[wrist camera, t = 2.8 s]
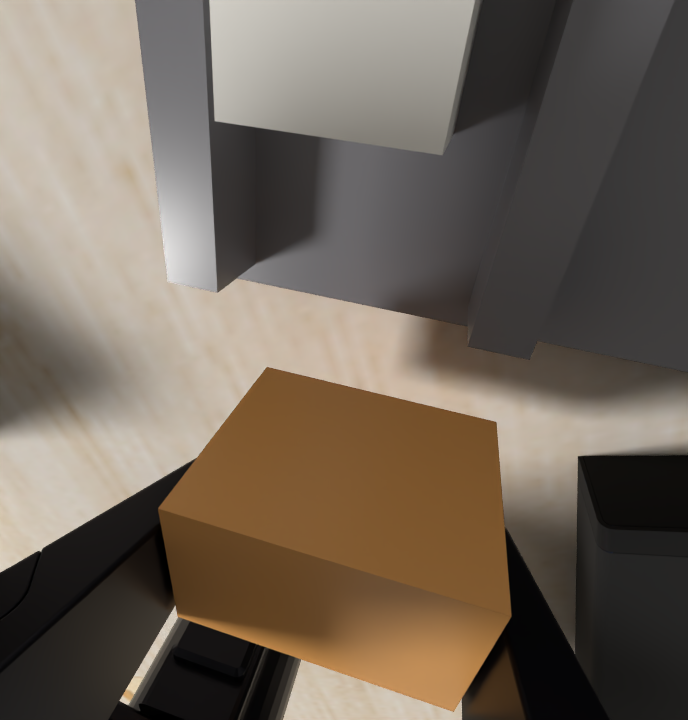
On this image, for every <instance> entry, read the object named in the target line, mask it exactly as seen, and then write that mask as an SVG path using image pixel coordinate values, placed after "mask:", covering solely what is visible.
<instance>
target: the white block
mask: <svg viewBox="0 0 688 720" xmlns="http://www.w3.org/2000/svg"><path fill="white" fill-rule="evenodd" d="M482 2H483V0H209V4H210V27H211V50H212V72H213V95H214V118H215V121H217V122H224V123H231V124H237V125H244V126H251V127H257V128H264V129H271V130H277V131H284V132H291V133H297V134H304V135H311V136H317V137H324V138H331V139H337V140H344V141H351V142H357V143H364V144H371V145H377V146H384V147H390V148H397V149H404V150H410V151H417V152H424V153H430V154H437V155H443V153H444V151H445V149H446V147H447V146H448V144H449V142H450V140H451V138H452V136H453V134H454V130H455V125H456V121H457V116H458V111H459V107H460V102H461V98H462V93H463V89H464V84H465V79H466V75H467V70H468V66H469V61H470V57H471V52H472V47H473V43H474V38H475V34H476V29H477V24H478V20H479V15H480V11H481V6H482Z"/></svg>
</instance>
